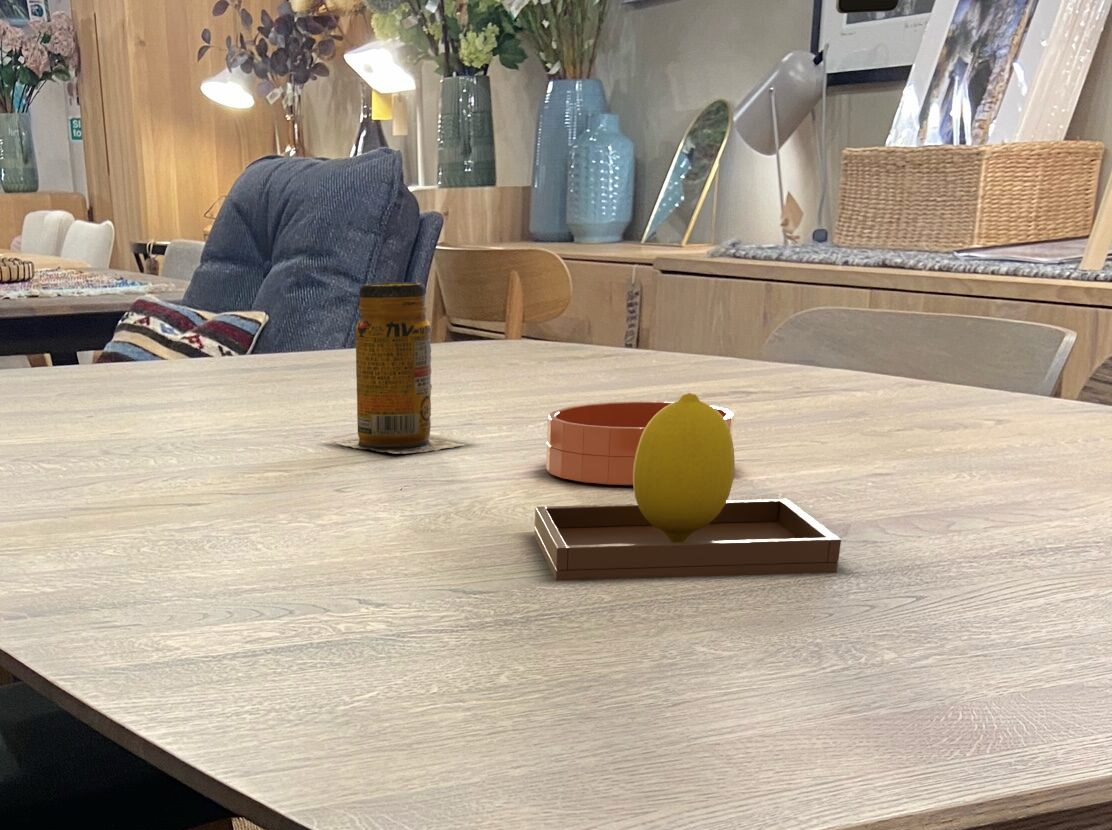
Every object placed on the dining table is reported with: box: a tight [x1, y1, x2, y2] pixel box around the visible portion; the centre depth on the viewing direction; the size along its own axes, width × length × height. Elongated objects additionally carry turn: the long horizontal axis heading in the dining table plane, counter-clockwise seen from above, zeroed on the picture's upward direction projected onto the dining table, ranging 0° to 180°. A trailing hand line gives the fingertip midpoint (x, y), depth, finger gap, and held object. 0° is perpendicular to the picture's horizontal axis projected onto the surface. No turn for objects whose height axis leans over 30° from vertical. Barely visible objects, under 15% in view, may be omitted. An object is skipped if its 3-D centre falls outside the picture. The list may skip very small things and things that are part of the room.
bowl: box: [545, 401, 735, 486], centre depth 104 cm, size 13×13×4 cm
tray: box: [533, 498, 842, 582], centre depth 82 cm, size 15×11×2 cm
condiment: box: [335, 281, 466, 455], centre depth 116 cm, size 7×8×12 cm
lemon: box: [632, 392, 736, 542], centre depth 81 cm, size 6×6×8 cm
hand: (894, 2), depth 74 cm, fingers open, 9 cm apart
